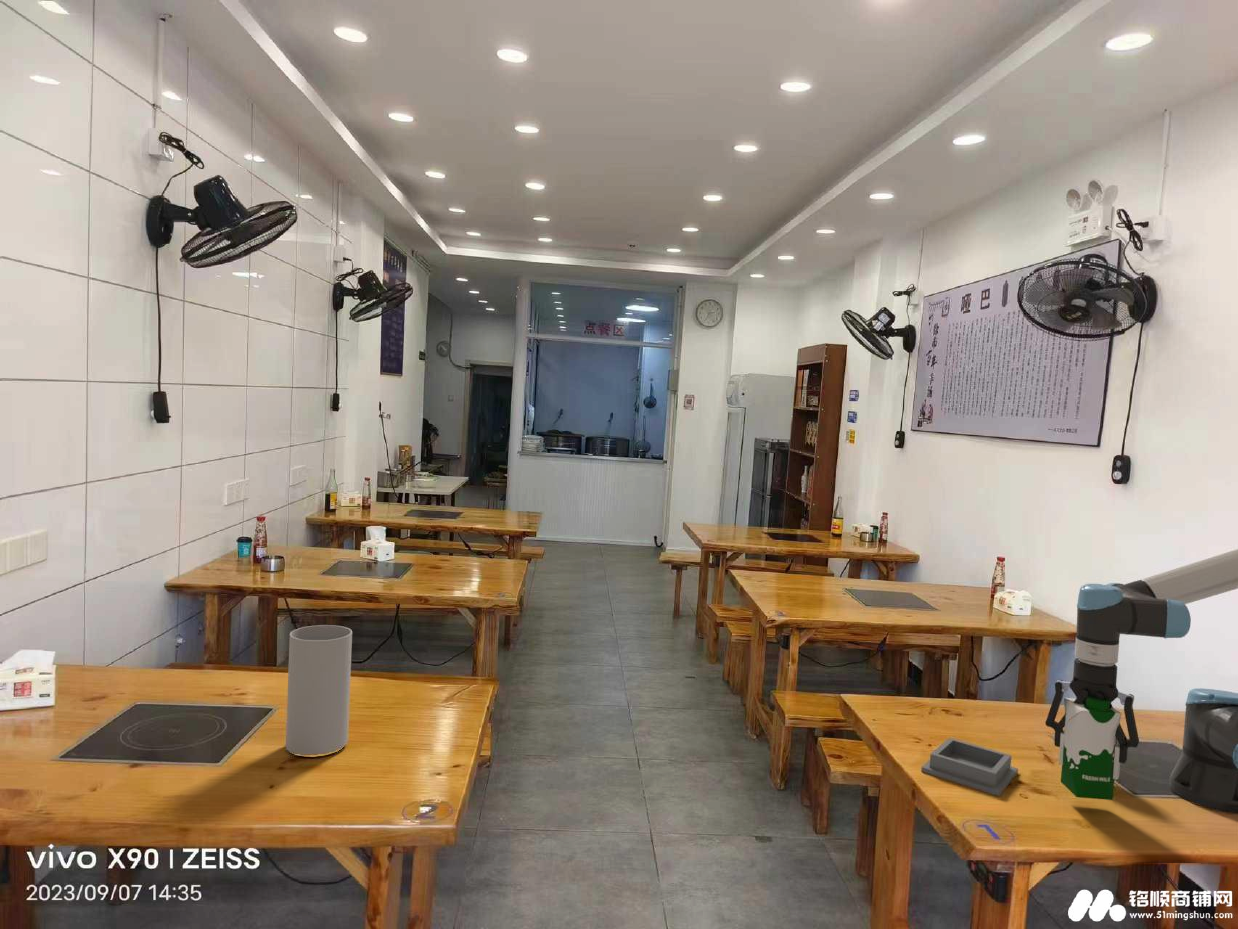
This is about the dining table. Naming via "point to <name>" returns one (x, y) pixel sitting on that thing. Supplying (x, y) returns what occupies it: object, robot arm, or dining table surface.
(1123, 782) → the dining table surface
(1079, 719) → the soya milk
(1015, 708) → the dining table surface
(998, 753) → the dock
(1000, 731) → the dining table surface
